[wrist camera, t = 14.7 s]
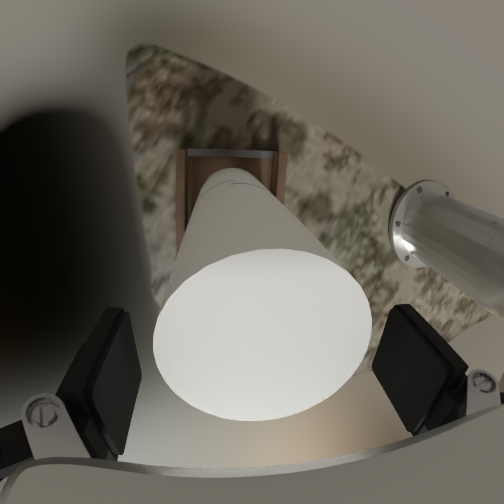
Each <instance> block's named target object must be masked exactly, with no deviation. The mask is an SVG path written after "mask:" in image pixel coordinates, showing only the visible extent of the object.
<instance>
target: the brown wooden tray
mask: <svg viewBox="0 0 504 504" xmlns="http://www.w3.org/2000/svg"><path fill="white" fill-rule="evenodd" d="M286 165H287V153H285V152H278V151H262V150H240V149H177V163H176V214H177V250H178V252H179V249H180V246H181V243H182V240H183V237H184V234H185V231H186V229H187V226H188V223H189V220H190V217H191V214H192V212H193V209H194V206H195V203H196V201H197V198H198V195H199V193H200V190H201V188H202V186H203V184H204V182H205V181H206V180H207V179H208V177H209V176H211V175H212V174H213V173H215V172H217V171H219V170H221V169H225V168H239V169H242V170H245V171H247V172H249V173H250V174H252V175H253V176H254V177H255V178H256V179H257V180H258V181H259V182H260V183H262V184H263V185H264V186H265V187H266V188H267V189H268V190H269V191H270V192H271V193H272V194H273V195H274V196H275V197H276V198H277V199H278V200H279V201H280V202H281V203H282V204H283V205H284V193H285V179H286Z"/></svg>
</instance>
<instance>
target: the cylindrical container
mask: <svg viewBox="0 0 504 504" xmlns="http://www.w3.org/2000/svg"><path fill="white" fill-rule="evenodd" d="M371 327H372V317H371V312H370V307H369V302H368V300H367V298H366V296H365V294H364V292H363V290H362V288H361V286H360V285H359V284H358V283H357V282H356V281H355V279H354V278H353V277H352V276H351V275H350V274H349V273H348V272H347V271H346V270H345V268H344V267H343V266H342V265H341V264H340V263H339V262H338V261H337V260H336V259H335V258H334V257H333V255H332V254H331V253H330V252H329V251H328V250H327V249H326V248H325V247H324V246H323V245H322V244H321V243H320V242H319V241H318V240H317V239H316V237H315V236H314V235H313V234H312V233H311V232H310V231H309V230H308V229H307V228H306V227H305V226H304V225H303V224H302V223H301V222H300V221H299V220H298V219H297V218H296V217H295V216H294V215H293V214H292V213H291V212H290V211H289V210H288V209H287V208H286V207H285V206H284V205H283V204H282V203H281V202H280V201H279V200H278V199H277V198H276V197H275V196H274V195H273V194H272V193H271V192H270V191H269V190H268V189H267V188H266V187H265V186H264V185H263V184H262V183H260V182H259V181H258V180H257V179H256V178H255V177H254V176H253V175H252V174H250V173H249V172H247V171H245V170H242V169H239V168H225V169H221V170H219V171H217V172H215V173H213V174H212V175H211V176H209V177H208V179H207V180H206V181H205V182H204V184H203V186H202V188H201V190H200V193H199V195H198V198H197V201H196V203H195V206H194V209H193V212H192V214H191V217H190V220H189V223H188V226H187V229H186V231H185V234H184V237H183V240H182V243H181V246H180V249H179V252H178V255H177V258H176V261H175V264H174V267H173V270H172V273H171V276H170V279H169V283H168V286H167V289H166V292H165V296H164V299H163V302H162V305H161V309H160V312H159V316H158V319H157V323H156V327H155V331H154V335H153V339H154V340H153V351H154V355H155V360H156V363H157V367H158V369H159V371H160V373H161V375H162V377H163V379H164V380H165V382H166V383H167V384H168V385H169V387H171V389H172V390H173V391H174V392H175V393H176V394H177V395H178V396H179V397H181V398H182V399H183V400H185V401H186V402H187V403H188V404H190V405H192V406H194V407H196V408H198V409H199V410H201V411H203V412H206V413H209V414H212V415H215V416H218V417H221V418H226V419H232V420H239V421H261V420H271V419H276V418H281V417H285V416H290V415H293V414H296V413H298V412H301V411H304V410H306V409H308V408H310V407H312V406H314V405H316V404H318V403H320V402H322V401H323V400H325V399H326V398H328V397H329V396H330V395H332V394H333V393H334V392H336V391H337V390H338V389H339V388H340V387H341V386H342V385H343V384H344V383H345V382H346V381H347V380H348V379H349V378H350V377H351V376H352V375H353V373H354V372H355V370H356V369H357V368H358V366H359V365H360V363H361V361H362V359H363V357H364V355H365V353H366V351H367V348H368V345H369V341H370V337H371Z"/></svg>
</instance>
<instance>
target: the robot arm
mask: <svg viewBox="0 0 504 504" xmlns="http://www.w3.org/2000/svg"><path fill="white" fill-rule="evenodd" d="M389 237H390V243H391V246H392V249H393V251H394V253H395V255H396V256H397V257H398V258H399V259H400V260H401V261H402V262H404V263H405V264H407V265H409V266H411V267H425V266H428V267H430V268H431V269H433V270H434V271H435V272H437V273H438V274H439V275H441V276H442V277H444V278H445V279H446V280H448V281H449V282H450V283H452V284H453V285H454V286H456V287H457V288H458V289H460V290H461V291H462V292H464V293H465V294H466V295H467V296H469V297H470V298H471V299H473V300H474V301H475V302H476V303H478V304H479V305H480V306H482V307H483V308H484V309H485V310H487V311H488V312H490V313H491V314H493V315H495V316H499V317H504V219H503V218H501V217H498V216H496V215H494V214H491V213H489V212H486V211H484V210H481V209H479V208H476V207H474V206H471V205H468V204H465V203H463V202H460V201H458V200H455V199H454V197H453V195H452V193H451V192H450V190H449V189H448V188H447V187H446V186H445V185H443V184H442V183H439V182H436V181H433V180H421V181H418V182H416V183H414V184H412V185H411V186H409V187H408V188H407V189H406V190H405V191H404V192H403V193H402V195H401V196H400V197H399V199H398V200H397V202H396V204H395V206H394V209H393V212H392V214H391V219H390V224H389ZM372 369H373V372H374V374H375V375H376V377H377V379H378V381H379V382H380V384H381V386H382V387H383V389H384V391H385V393H386V394H387V396H388V398H389V399H390V401H391V403H392V405H393V406H394V408H395V410H396V412H397V413H398V415H399V417H400V419H401V421H402V422H403V424H404V426H405V428H406V430H407V431H408V432H411V433H412V435H413V437H410V438H407V439H404V440H401V441H398V442H394V443H391V444H387V445H384V446H380V447H377V448H373V449H369V450H365V451H361V452H357V453H352V454H348V455H344V456H338V457H333V458H328V459H322V460H316V461H310V462H304V463H296V464H287V465H278V466H267V467H252V468H224V469H210V468H209V469H207V468H204V469H203V468H181V467H165V466H153V465H143V464H135V463H128V462H119V461H117V459H118V455H123V453H124V449H125V445H126V440H127V435H128V431H129V427H130V422H131V418H132V414H133V410H134V405H135V402H136V398H137V394H138V390H139V386H140V382H141V376H142V374H141V368H140V363H139V359H138V355H137V350H136V346H135V341H134V336H133V331H132V326H131V320H130V315H129V313H128V312H124V309H123V308H116V307H107V308H106V309H105V310H104V312H103V314H102V315H101V317H100V319H99V321H98V322H97V324H96V326H95V327H94V329H93V331H92V332H91V334H90V336H89V338H88V340H87V341H86V342H85V343H83V344H82V345H81V347H80V349H79V351H78V352H77V355H76V356H75V358H74V360H73V362H72V364H71V365H70V367H69V369H68V371H67V373H66V375H65V377H64V379H63V381H62V383H61V385H60V387H59V389H58V391H57V393H56V395H52V394H39V395H35V396H33V397H31V398H30V399H29V400H28V401H27V402H26V403H25V404H24V406H23V408H22V412H21V417H22V420H20V421H17V422H15V423H12V424H10V425H7V426H5V427H3V428H0V504H504V372H503V374H502V376H501V377H500V379H499V381H497V380H496V378H495V377H494V376H493V375H492V374H490V373H489V372H487V371H484V370H479V369H477V370H473V371H471V372H470V373H469V374H468V376H466V374H465V372H466V371H467V369H468V365H467V364H466V363H465V362H464V361H463V360H462V358H461V357H460V356H459V355H458V354H457V353H456V352H455V351H454V350H453V349H452V347H451V346H450V345H449V344H448V343H447V342H446V341H445V340H444V339H443V338H442V337H441V336H440V335H439V334H438V332H437V331H436V330H435V329H434V328H433V327H432V326H431V325H430V324H429V323H428V322H427V321H426V320H425V319H424V318H423V317H422V316H421V315H420V314H419V313H418V312H417V311H416V310H415V309H414V308H413V307H412V306H411V305H410V304H399V305H395V306H394V307H393V309H391V310H390V312H389V315H388V318H387V321H386V324H385V328H384V331H383V334H382V337H381V340H380V343H379V346H378V349H377V351H376V354H375V357H374V360H373V363H372Z"/></svg>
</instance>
